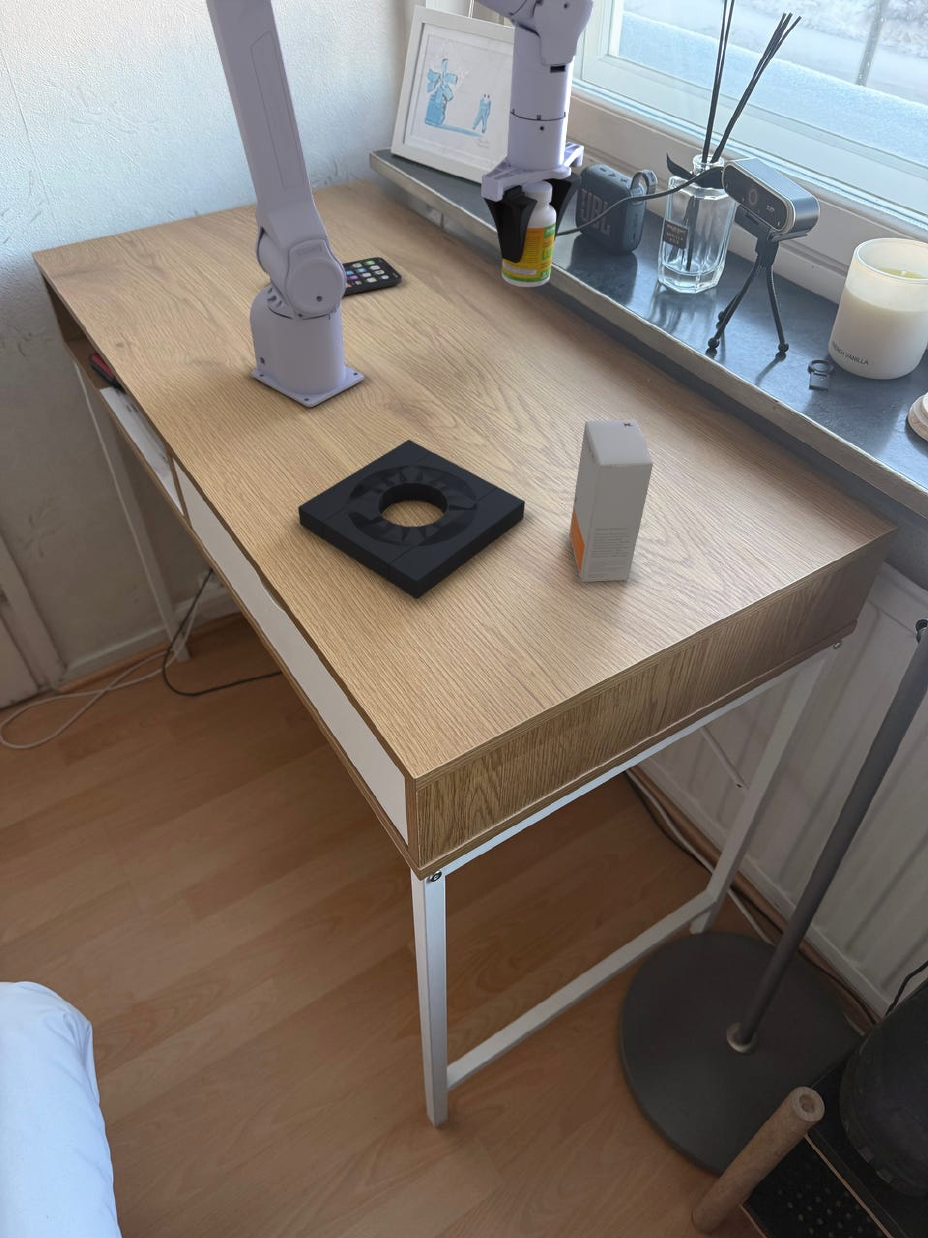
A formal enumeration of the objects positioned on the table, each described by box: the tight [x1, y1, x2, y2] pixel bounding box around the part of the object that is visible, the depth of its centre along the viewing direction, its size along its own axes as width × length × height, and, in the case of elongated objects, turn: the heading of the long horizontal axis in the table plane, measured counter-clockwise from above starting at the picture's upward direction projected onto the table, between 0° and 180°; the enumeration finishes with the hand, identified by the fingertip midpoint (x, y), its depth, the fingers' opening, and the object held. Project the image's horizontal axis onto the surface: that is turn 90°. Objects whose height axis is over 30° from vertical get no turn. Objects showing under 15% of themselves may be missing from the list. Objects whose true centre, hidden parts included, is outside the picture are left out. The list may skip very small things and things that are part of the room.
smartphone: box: [342, 256, 403, 296], centre depth 109 cm, size 7×1×15 cm
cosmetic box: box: [568, 419, 654, 583], centre depth 70 cm, size 6×4×12 cm
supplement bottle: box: [501, 180, 556, 288], centre depth 93 cm, size 5×5×10 cm
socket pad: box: [297, 439, 526, 600], centre depth 76 cm, size 14×14×2 cm
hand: (527, 251), depth 94 cm, fingers closed on supplement bottle, 5 cm apart
